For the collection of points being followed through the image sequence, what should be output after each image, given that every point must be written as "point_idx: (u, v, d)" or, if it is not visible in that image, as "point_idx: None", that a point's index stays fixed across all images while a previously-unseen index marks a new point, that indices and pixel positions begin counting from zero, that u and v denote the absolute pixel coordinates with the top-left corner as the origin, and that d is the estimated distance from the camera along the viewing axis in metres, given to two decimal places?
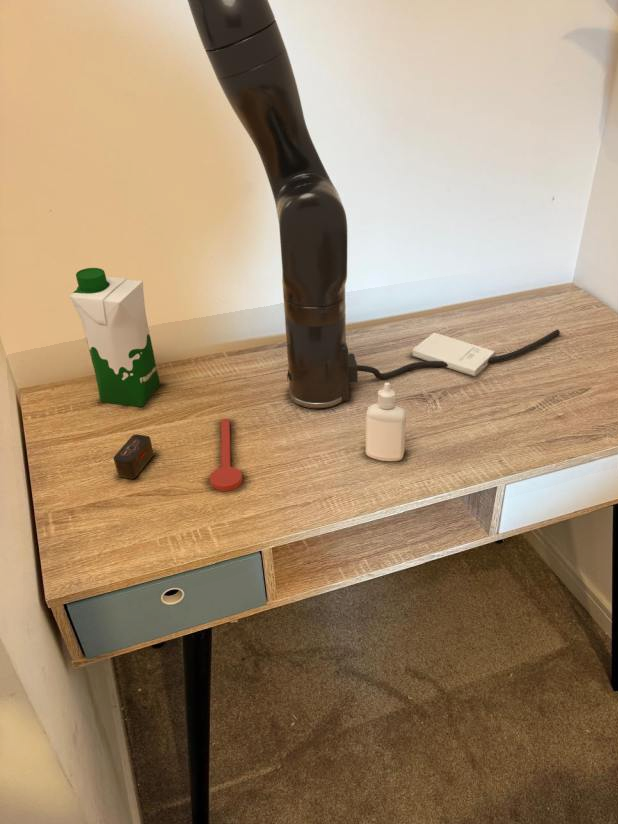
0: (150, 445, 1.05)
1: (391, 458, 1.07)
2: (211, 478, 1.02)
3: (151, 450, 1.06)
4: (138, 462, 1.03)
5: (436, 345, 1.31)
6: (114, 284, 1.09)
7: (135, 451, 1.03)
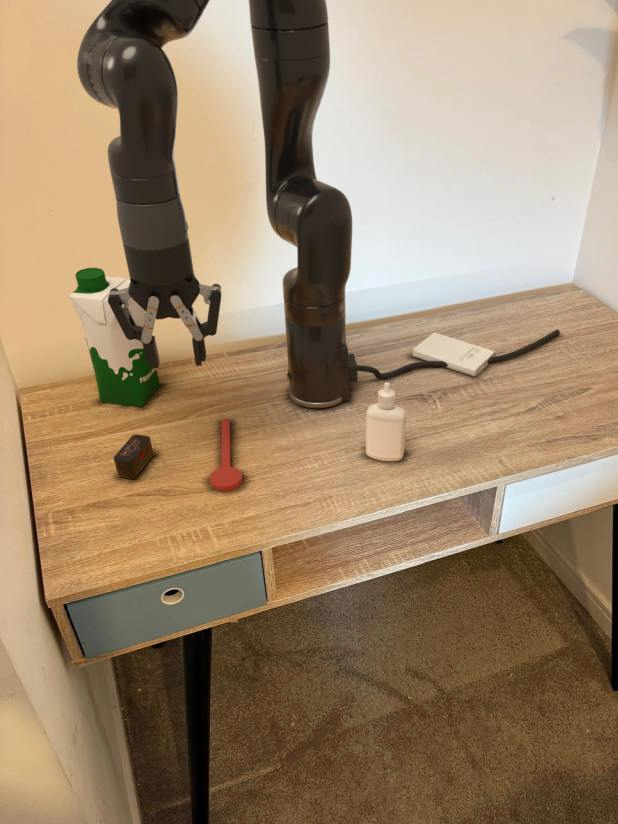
0: (150, 445, 1.05)
1: (391, 458, 1.07)
2: (211, 478, 1.02)
3: (151, 450, 1.06)
4: (138, 462, 1.03)
5: (436, 345, 1.31)
6: (113, 283, 1.09)
7: (135, 451, 1.03)
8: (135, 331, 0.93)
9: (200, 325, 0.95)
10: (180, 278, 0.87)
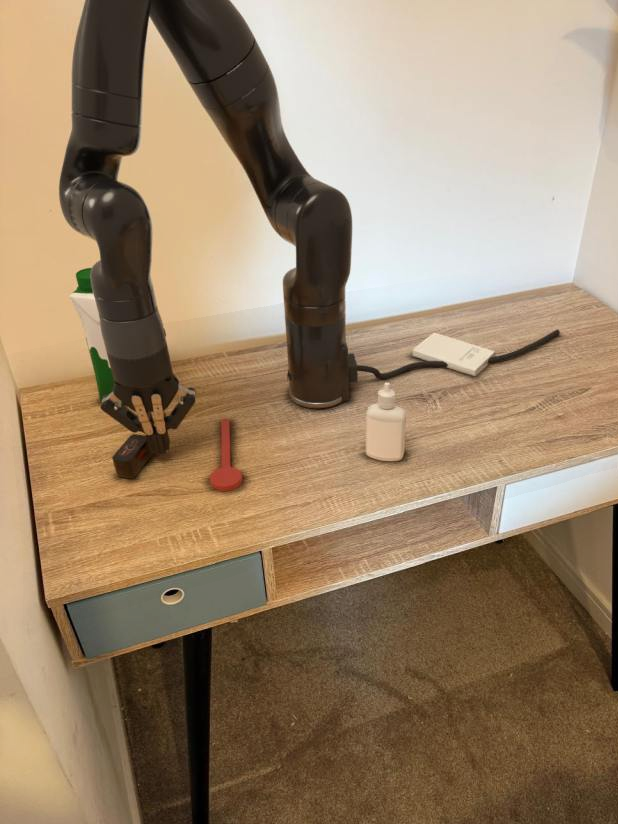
0: None
1: (391, 458, 1.07)
2: (211, 478, 1.02)
3: None
4: (137, 462, 1.03)
5: (436, 345, 1.31)
6: None
7: (134, 451, 1.03)
8: (138, 424, 1.01)
9: None
10: (160, 380, 0.95)
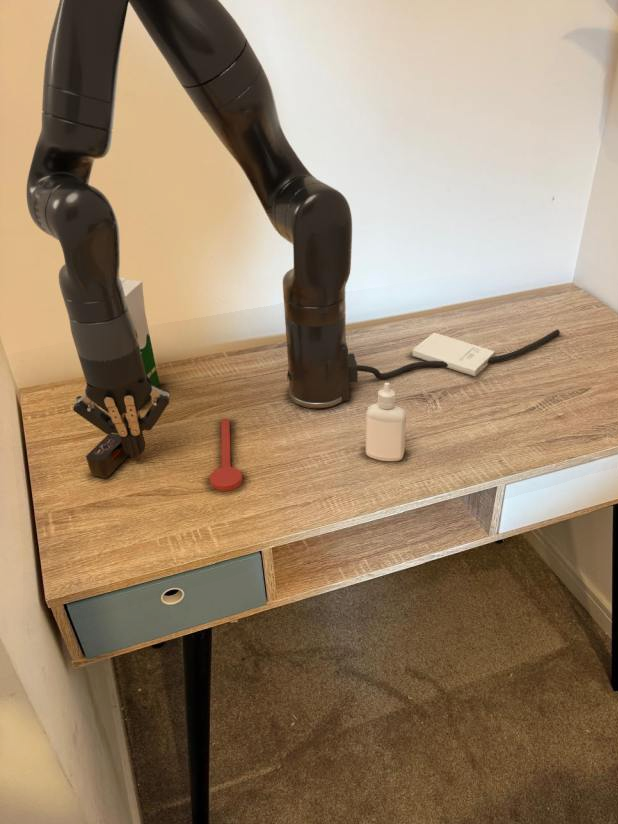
0: None
1: (391, 458, 1.07)
2: (211, 478, 1.02)
3: None
4: (112, 462, 1.03)
5: (436, 345, 1.31)
6: None
7: (108, 450, 1.03)
8: (112, 426, 1.01)
9: None
10: (131, 382, 0.95)
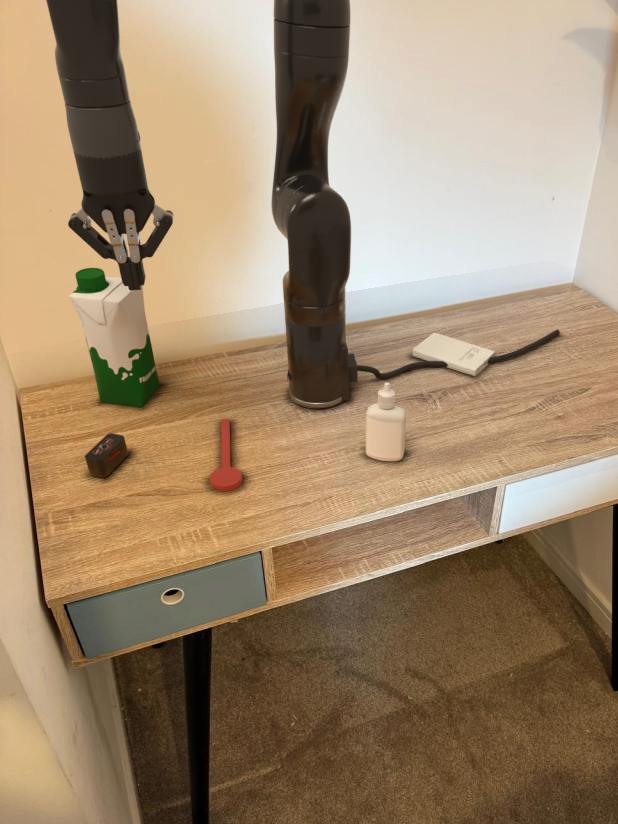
0: (124, 444, 1.05)
1: (391, 458, 1.07)
2: (211, 478, 1.02)
3: (125, 449, 1.06)
4: (110, 462, 1.03)
5: (436, 345, 1.31)
6: (113, 284, 1.09)
7: (107, 450, 1.03)
8: (110, 250, 0.93)
9: None
10: (132, 189, 0.86)
